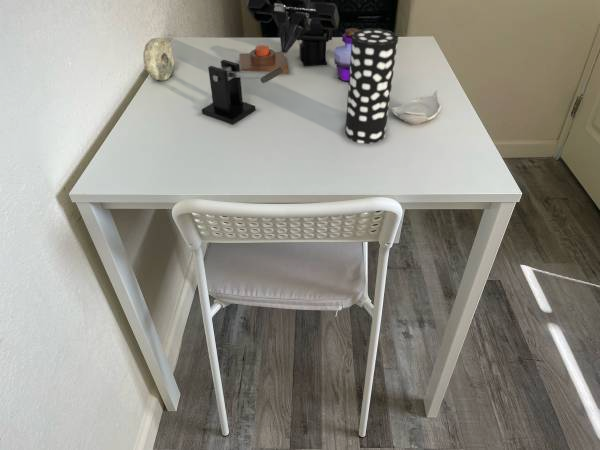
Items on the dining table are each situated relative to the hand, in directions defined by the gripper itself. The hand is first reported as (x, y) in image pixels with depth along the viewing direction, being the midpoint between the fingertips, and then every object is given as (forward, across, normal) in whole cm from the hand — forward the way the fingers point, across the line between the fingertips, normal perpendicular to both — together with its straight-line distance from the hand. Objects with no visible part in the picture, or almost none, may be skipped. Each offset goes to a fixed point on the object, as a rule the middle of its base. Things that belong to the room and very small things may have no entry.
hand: (283, 52), depth 94 cm
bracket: (+12, -12, +7) cm, 19 cm away
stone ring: (+4, -36, +16) cm, 40 cm away
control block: (-6, -14, +26) cm, 30 cm away
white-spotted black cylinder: (+12, +19, +8) cm, 24 cm away
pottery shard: (+6, +28, +14) cm, 32 cm away
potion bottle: (-6, +9, +26) cm, 28 cm away
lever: (+7, -6, 0) cm, 9 cm away
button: (-9, -14, +23) cm, 28 cm away
